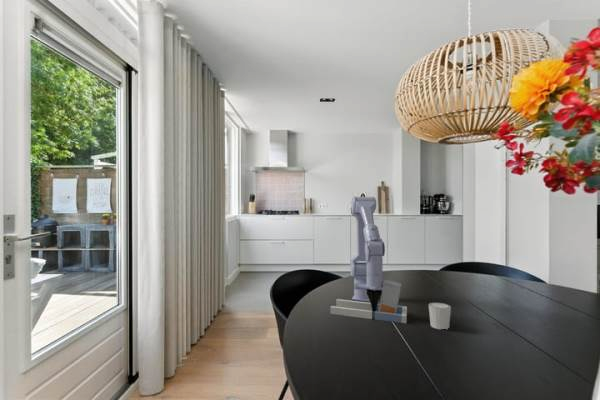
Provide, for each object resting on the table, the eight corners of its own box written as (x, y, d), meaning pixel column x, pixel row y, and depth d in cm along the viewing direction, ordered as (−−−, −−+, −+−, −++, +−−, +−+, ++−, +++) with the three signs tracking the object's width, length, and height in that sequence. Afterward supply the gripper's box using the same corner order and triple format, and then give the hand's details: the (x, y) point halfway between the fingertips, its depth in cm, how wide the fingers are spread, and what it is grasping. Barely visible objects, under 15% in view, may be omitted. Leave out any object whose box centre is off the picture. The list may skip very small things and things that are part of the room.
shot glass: (433, 321, 109) (433, 300, 109) (454, 326, 104) (454, 305, 104) (425, 326, 104) (425, 305, 104) (446, 332, 99) (446, 309, 99)
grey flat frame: (337, 305, 125) (337, 299, 125) (406, 313, 116) (406, 306, 116) (330, 313, 115) (330, 307, 115) (406, 323, 106) (406, 316, 106)
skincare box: (377, 313, 113) (383, 281, 112) (379, 310, 117) (384, 278, 116) (394, 318, 110) (400, 285, 110) (396, 315, 114) (401, 283, 114)
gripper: (353, 274, 114) (352, 311, 114) (394, 277, 109) (394, 316, 109) (356, 270, 121) (356, 305, 120) (395, 273, 116) (395, 310, 116)
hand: (374, 310), depth 115 cm, fingers closed
